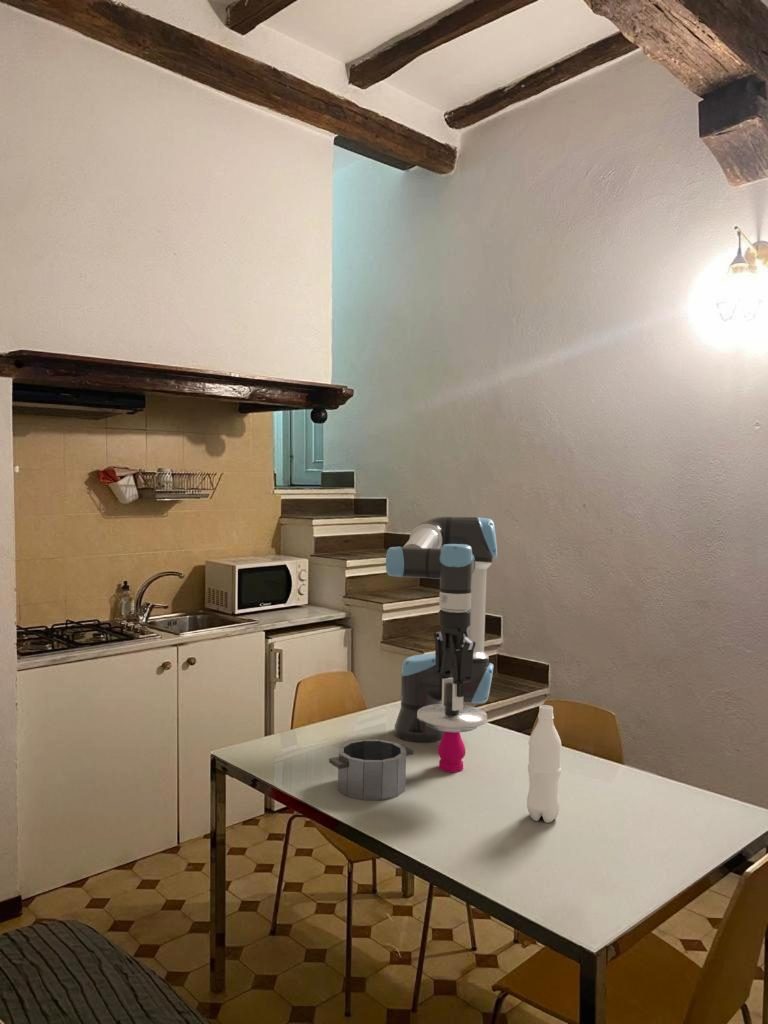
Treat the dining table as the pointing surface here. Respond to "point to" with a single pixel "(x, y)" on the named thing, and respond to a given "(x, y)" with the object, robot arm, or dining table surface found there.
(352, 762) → the pot
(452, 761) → the pepper mill
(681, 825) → the dining table surface
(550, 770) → the water bottle
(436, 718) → the lid
